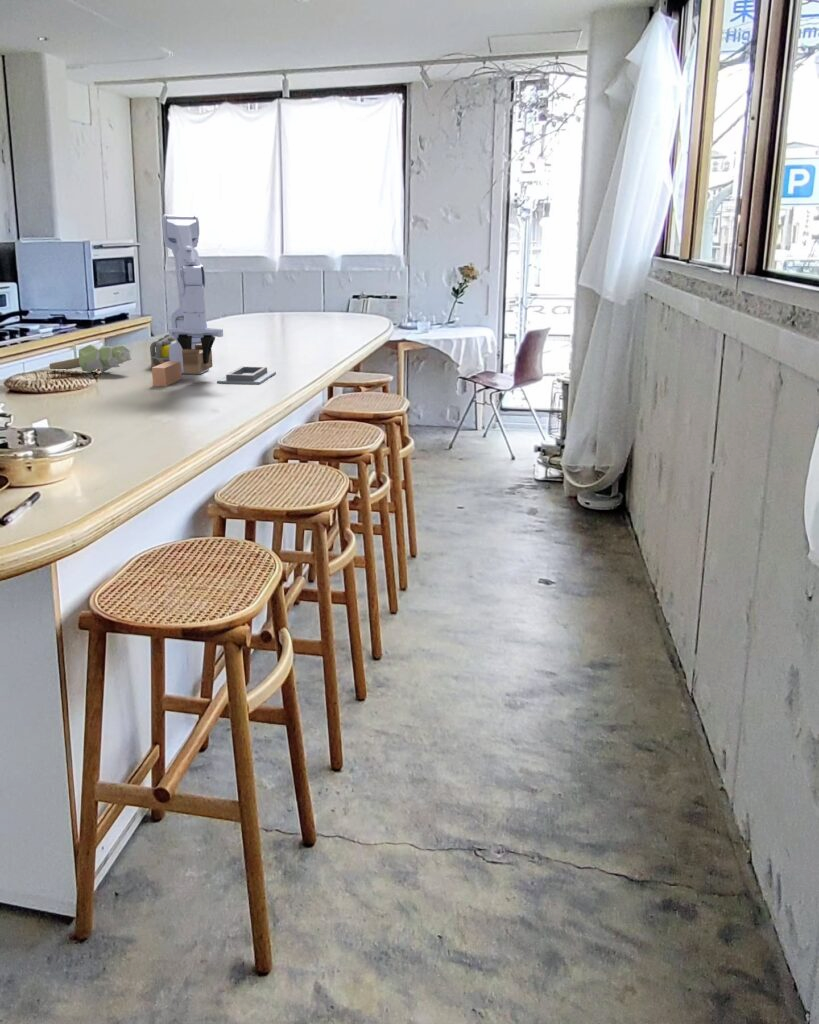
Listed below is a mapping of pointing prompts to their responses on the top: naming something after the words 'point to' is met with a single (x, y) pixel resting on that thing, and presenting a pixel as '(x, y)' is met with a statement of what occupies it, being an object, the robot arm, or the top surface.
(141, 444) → the top surface
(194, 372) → the tan notched block
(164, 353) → the cage light
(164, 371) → the salmon pink cuboid
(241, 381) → the jig
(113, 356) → the decorative object
